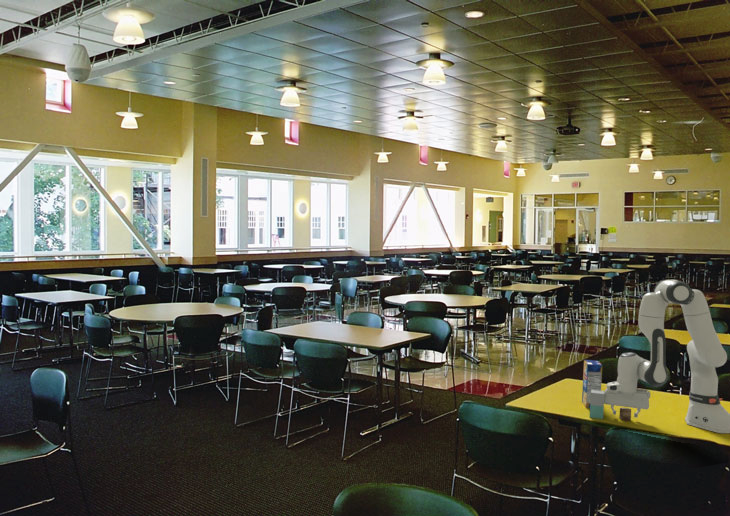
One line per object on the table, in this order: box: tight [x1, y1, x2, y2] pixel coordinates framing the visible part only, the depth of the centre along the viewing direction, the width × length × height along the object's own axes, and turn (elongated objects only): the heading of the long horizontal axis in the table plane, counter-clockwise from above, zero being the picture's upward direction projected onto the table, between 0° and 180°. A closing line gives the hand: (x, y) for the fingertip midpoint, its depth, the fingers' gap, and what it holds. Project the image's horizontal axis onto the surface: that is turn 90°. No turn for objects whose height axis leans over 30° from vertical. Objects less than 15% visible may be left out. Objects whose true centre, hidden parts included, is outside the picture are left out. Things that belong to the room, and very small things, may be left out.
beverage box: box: [581, 359, 603, 409], centre depth 316 cm, size 7×11×22 cm, turn 171°
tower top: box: [590, 390, 605, 407], centre depth 297 cm, size 6×6×6 cm
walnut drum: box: [619, 407, 632, 422], centre depth 294 cm, size 5×5×5 cm
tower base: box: [589, 405, 605, 420], centre depth 297 cm, size 6×6×6 cm
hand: (625, 415), depth 294 cm, fingers open, 8 cm apart
